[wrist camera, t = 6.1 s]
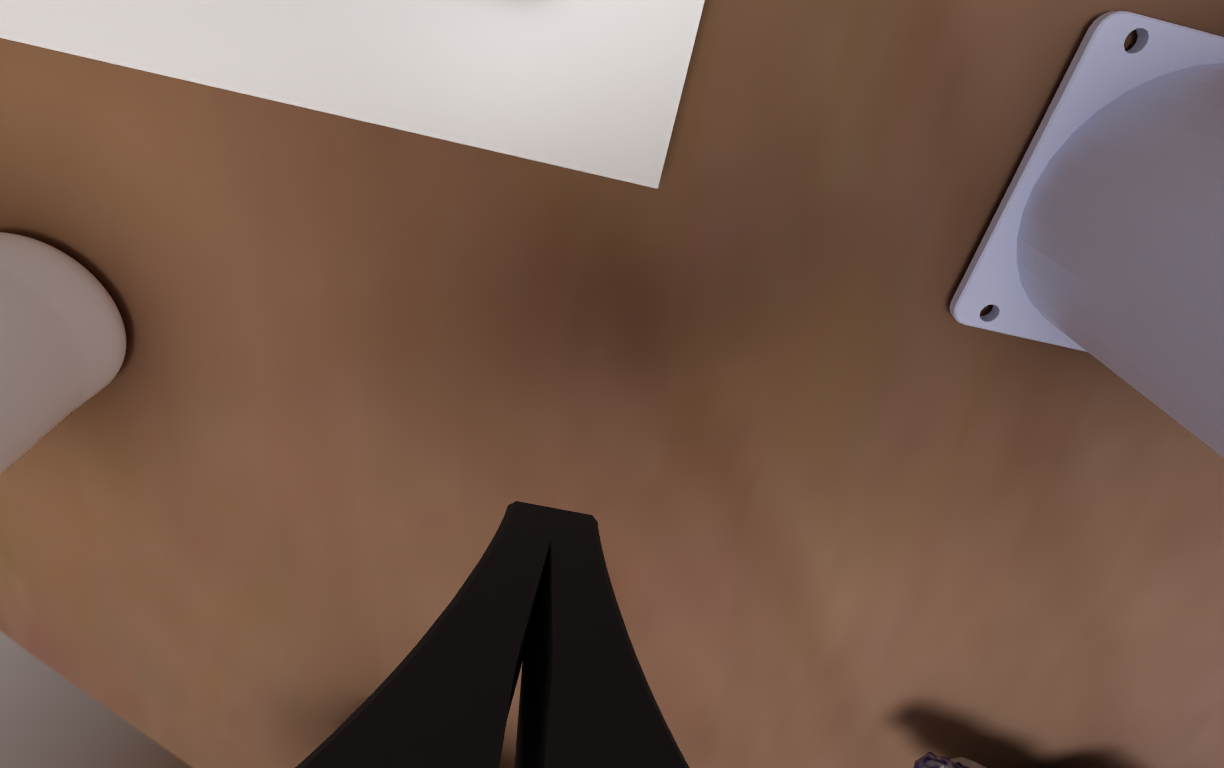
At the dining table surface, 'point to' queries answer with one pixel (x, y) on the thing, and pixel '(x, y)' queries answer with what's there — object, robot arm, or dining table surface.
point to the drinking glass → (50, 341)
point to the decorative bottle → (945, 762)
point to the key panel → (417, 64)
